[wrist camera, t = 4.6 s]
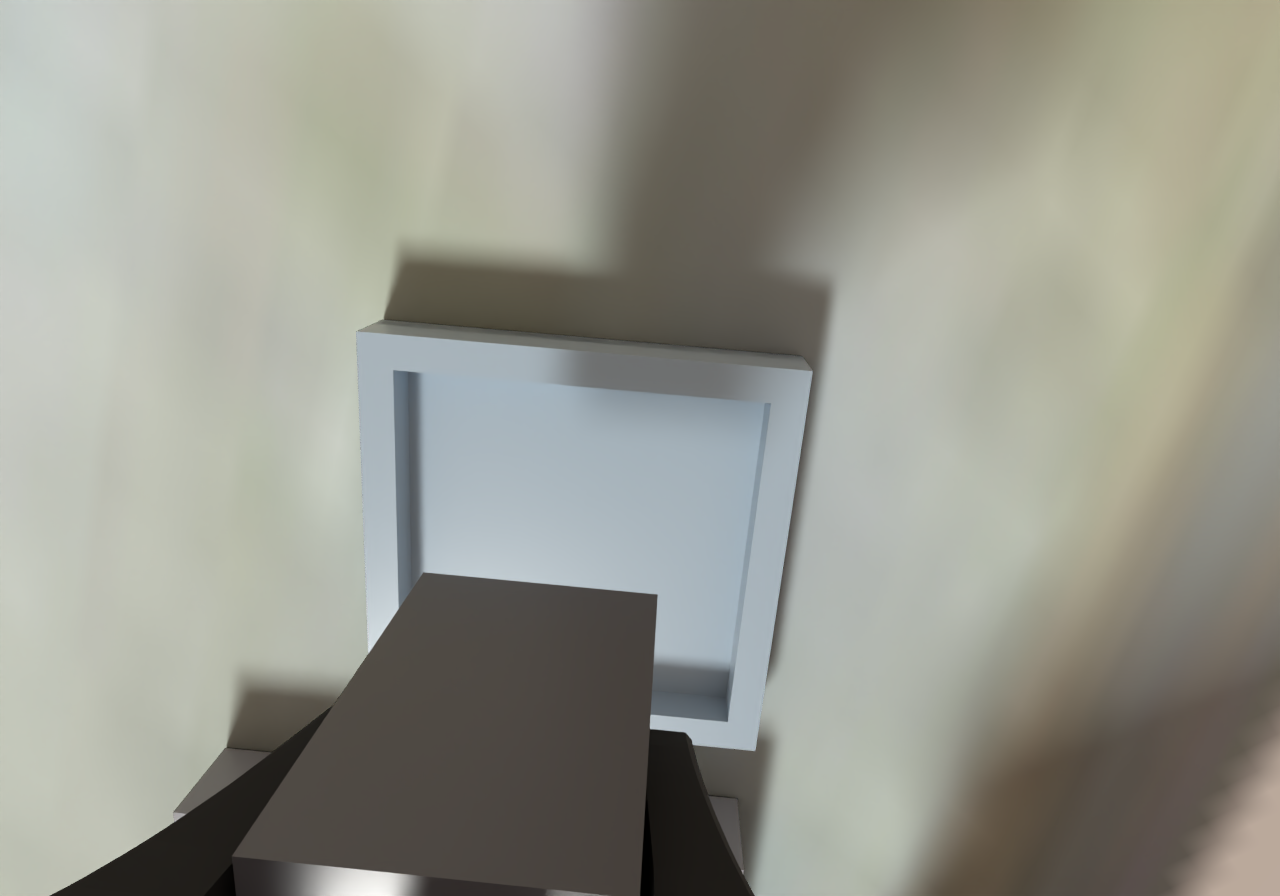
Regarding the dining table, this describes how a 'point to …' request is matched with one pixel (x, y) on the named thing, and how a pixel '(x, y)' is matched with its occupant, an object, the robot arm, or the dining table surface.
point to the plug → (474, 753)
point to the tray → (591, 489)
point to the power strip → (241, 761)
